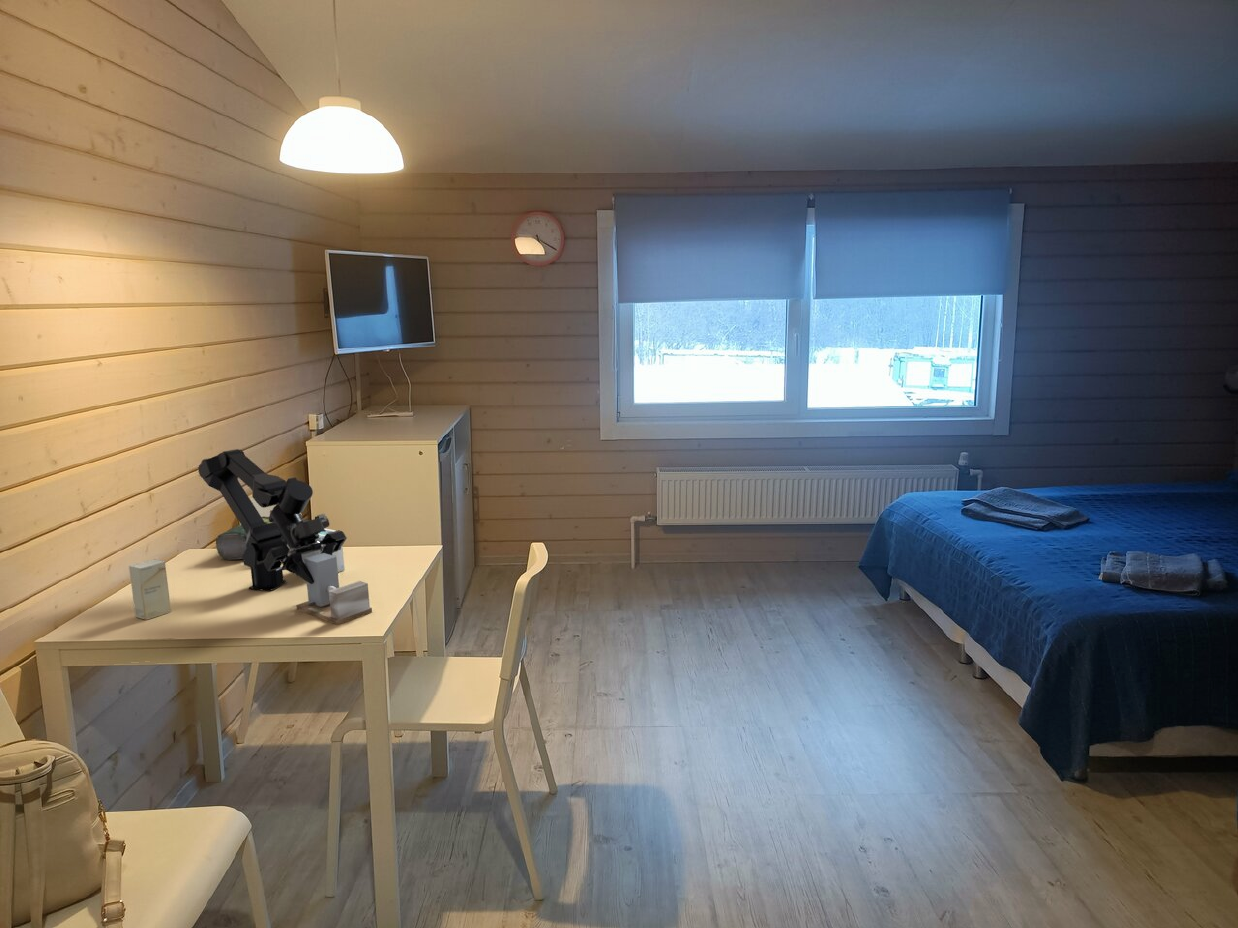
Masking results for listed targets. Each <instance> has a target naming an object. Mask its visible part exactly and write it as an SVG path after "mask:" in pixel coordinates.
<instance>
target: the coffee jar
mask: <svg viewBox="0 0 1238 928" xmlns="http://www.w3.org/2000/svg"><path fill="white" fill-rule="evenodd" d="M261 517H262V519H263V520H264V522H265V523H267V524H268V523H273V522H269V516H261ZM274 523H275V522H274ZM246 539H247V534H246V532H245V530H244V529H243V527H242V526H241V524H238V525H237V526H234V527H233V528H230V529H229V530H227V531H224V532H222V533H220V534H219V535H217V536H216V539H215V548H216V551H217V553H218V555H219V557H221V558H222V559H224V560H229V561H235V560H243V559H242V556H243V554H244V552H245V551H246V549H247V547H246Z"/></svg>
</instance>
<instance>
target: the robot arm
mask: <svg viewBox="0 0 1238 928" xmlns="http://www.w3.org/2000/svg"><path fill="white" fill-rule="evenodd" d="M197 470H198V474H199V477H201V479H203V481H204V483H206V485H207V486H208V487H210V488H212V489H214V490H217V491H218V492H220V494H221V495H222V497H223V499H224V500H225V501H226V503H227V505H228V507H229V508H230V509H231V511H232V513H233V514H234V516H235V518H236V519H237V521H238V522H239V525H241V526H242V527H243V529H244V530H245V532H246V534H247V539H246V547H247V549H246V551H245V552H244V554H243V556H242V559H241V560H242V563H243V564H244V566H247V567H248V568H250V574H251V584H252V585H250V586H249V587H248V590H254V591H268V592H269V591H274V590H276V589H277V588H279V587H280V586H281V587H282V585H284V584H286V583H287V580H286V579H284V574H283V573H284V572H283V571H287V572H289V573H291V574H293V575H295V576H297V577H299V578H301V579H302V580H304V581H306V583H307V582H309V583H310V584H313V583H314V580H313V577H312V575H311V574H310V572H309V570H308V569H307V567H306V566H305V564H304V562H303V560H302V555H303V554H306V553H310V552H313V551H317V552H318V553H319V554H321V553H326V554H329V555H332V553H334V552H337V551H338V550H340V548H341V546H342V547H343V545H344V543H345V541H347V539H348V537H347V536H346V534H345V533H344V531H343V530H339V529H338V530H337V531H334V532H331V533H327V534H326V535H325V537H324V539H323V540H322V541H318V542H316V539H318V538H319V534H318V533H320V532H322V531H323V532H324V531H325V529H327V528H328V527H329V526H330V520H329V518H328V517H327V515H326V514H325V513H321V514H317V515H316V516H314V519H310V520H309V519H303V516H302V517H301V515H300V513H301V514H302V512H304V510H305V508H306V507H307V505H308V503H309V502H310V500H311V498H312V496H313V494H314V490H313V488H312V486H311V485H309V484H308V483H306V482H305V481H302V480H298V478H297V477H296V476H294V477H290V478H287V480H285V479H284V478H282V477H279V476H278V475H272V474H268V473H266V472H265V471H264V470H263V469H262V468H261V467H259V465H257V464H256V463H255V462H253V461H252V460H251V459H250V458H248V456H246V455H245V453H244V451H243V450H242V449H239V448H236V449H235V448H234V449H230V450H224V451H222V452H220V453H219V454H217V455H215V456H212V457H209V458H204V459H202V460H201V462H200V464H199V465H198V467H197ZM239 480H241V481H242V483H244V484H245V485H246V486H247V487H248V488H249V489H250V490H251V491H252V493H251V494H252V496H251V497H252V498H253V500H254V501H255V502H256V503H257V505H259V507H261V508H263V509H265V508H269V507H272V506H274V507H273V508H272V510H270V511H269V516H268V517H269V522H273V523H268V524H267V523H265V522H264V520H263V519H262V517H263V516H261V513H260V512H259V511H258V510H257V508H256V506H255V505H254V503H253V501H252V500H251V498H250V497H249V495H248V493H247V492H246V491H245V489H244V487H243V486H242V485H241V483H240V481H239ZM274 522H275V523H274ZM324 528H325V529H324ZM287 544H288V546H289V548H288V546H287Z"/></svg>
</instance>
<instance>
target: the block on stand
mask: <svg viewBox="0 0 1238 928" xmlns="http://www.w3.org/2000/svg"><path fill="white" fill-rule="evenodd" d="M369 595H370V594H369V584H368V582H365V581H362V580H358V581H356V582H352V583H349V584H348V583H347V585H342V586H339V588H336V589H333V590H330V591H329V599H330V604H328V605H325V606H322V607H320V606H318V605H313V606H309V603H310V602H309V600H308V601H304V602H301V603H298V604H296V605H295V607H296V610H298V611H301V612H303V613H306V614H308V615H311V616H313V617H316V618H319V619H322V620H324V621H326V620H327V622H329V623H332V624H335V625H338V626H339V625H341V624H343V623H346V622H348V621H352V620H354V619H357V618H360V617H362V616H365V615H369V614H371V613H373V608H372V607H371V605H370V596H369Z"/></svg>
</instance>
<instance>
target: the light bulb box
mask: <svg viewBox="0 0 1238 928" xmlns="http://www.w3.org/2000/svg"><path fill="white" fill-rule="evenodd" d="M324 529H325V531H324V532H323V531H322V532H320V533H318V534H319V538H318V539H316V542H318V541H322V540H323V539H324V537H325V535H326V534H327V533H331V532H334V531H338V530H336V529H330V528H324ZM318 554H319V553H318V552H317V551H313V552H310V553H306V554H303V555H302V560H303V562H304V564H305V561H304V558H308V557H311V556H314V555H318ZM332 556H336V558H337V569H338V573H339V572H343V571H345V570H346V568H345V567H346V566H345V560H344V559H345V558H344V548H343V545H342V546H341V548H340V550H338V551H337V552H334V553H332Z"/></svg>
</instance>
